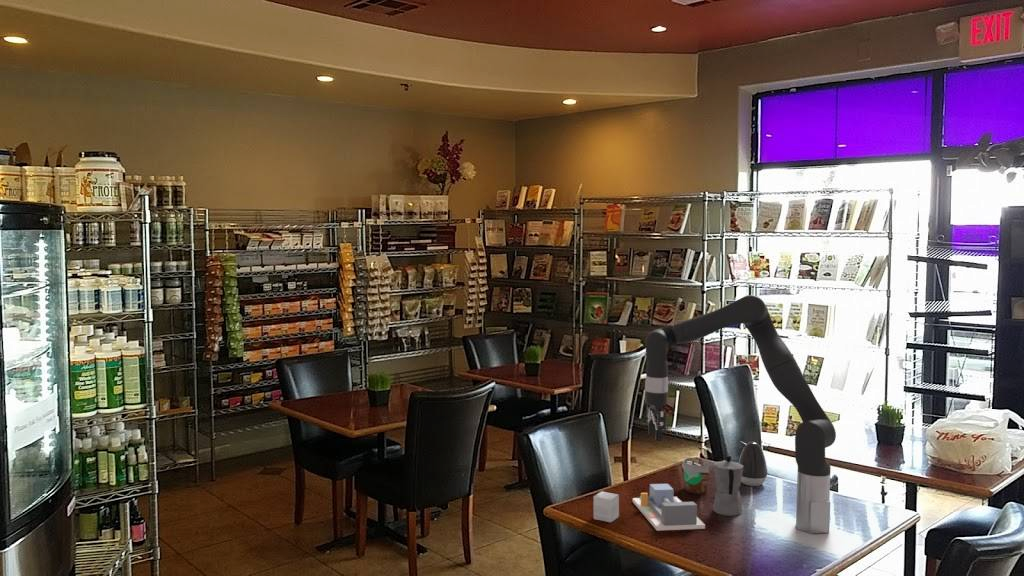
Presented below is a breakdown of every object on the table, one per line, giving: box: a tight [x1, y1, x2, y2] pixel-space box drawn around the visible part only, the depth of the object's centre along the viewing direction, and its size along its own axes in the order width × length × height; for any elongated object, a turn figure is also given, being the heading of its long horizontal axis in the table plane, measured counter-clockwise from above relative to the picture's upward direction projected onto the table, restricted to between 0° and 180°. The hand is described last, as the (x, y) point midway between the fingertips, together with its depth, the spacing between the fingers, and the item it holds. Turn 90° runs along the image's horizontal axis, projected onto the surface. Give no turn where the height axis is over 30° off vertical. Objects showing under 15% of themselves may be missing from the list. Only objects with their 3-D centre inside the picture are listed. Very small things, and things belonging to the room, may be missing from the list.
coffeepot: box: [712, 455, 744, 517], centre depth 252 cm, size 15×9×18 cm, turn 171°
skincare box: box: [593, 490, 620, 523], centre depth 247 cm, size 6×6×7 cm
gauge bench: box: [632, 496, 706, 532], centre depth 250 cm, size 26×15×7 cm, turn 7°
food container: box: [681, 456, 710, 495], centre depth 274 cm, size 12×6×10 cm, turn 17°
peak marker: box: [640, 492, 649, 506], centre depth 254 cm, size 1×2×4 cm, turn 97°
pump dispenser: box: [738, 441, 768, 487], centre depth 282 cm, size 10×10×15 cm
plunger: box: [638, 483, 675, 507], centre depth 253 cm, size 11×10×6 cm
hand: (655, 437), depth 265 cm, fingers open, 8 cm apart
